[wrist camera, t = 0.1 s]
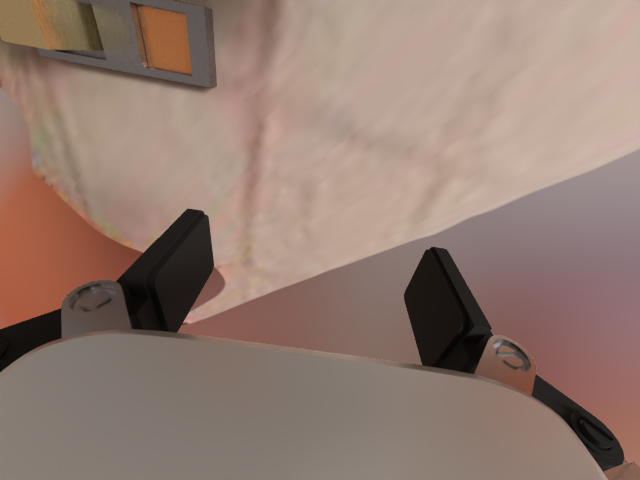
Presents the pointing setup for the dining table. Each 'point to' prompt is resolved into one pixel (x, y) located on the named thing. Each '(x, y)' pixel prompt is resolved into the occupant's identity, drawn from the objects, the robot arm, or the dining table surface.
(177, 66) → the divided tray
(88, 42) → the brushed gold block
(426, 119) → the dining table surface
